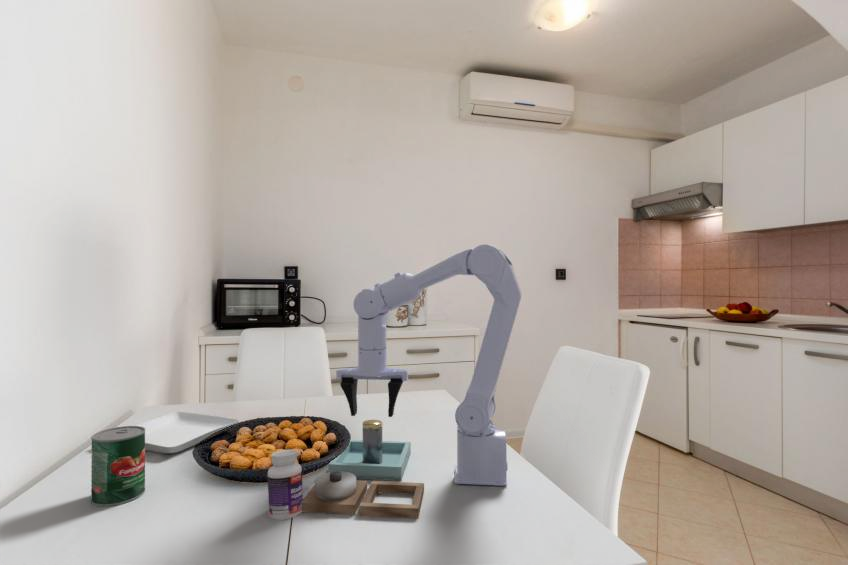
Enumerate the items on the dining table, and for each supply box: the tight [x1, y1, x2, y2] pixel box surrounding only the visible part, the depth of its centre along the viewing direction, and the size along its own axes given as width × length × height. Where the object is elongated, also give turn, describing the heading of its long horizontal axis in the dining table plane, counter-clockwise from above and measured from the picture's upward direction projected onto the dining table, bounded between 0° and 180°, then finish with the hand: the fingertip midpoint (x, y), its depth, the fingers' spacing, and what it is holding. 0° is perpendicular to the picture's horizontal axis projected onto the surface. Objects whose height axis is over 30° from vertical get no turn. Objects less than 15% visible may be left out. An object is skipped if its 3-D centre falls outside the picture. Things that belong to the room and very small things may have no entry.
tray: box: [328, 439, 412, 481], centre depth 95 cm, size 14×14×2 cm
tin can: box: [362, 419, 383, 464], centre depth 95 cm, size 4×4×8 cm
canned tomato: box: [90, 425, 146, 508], centre depth 81 cm, size 8×8×11 cm
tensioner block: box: [302, 471, 425, 519], centre depth 79 cm, size 19×9×4 cm, turn 85°
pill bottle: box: [267, 449, 304, 520], centre depth 76 cm, size 5×5×10 cm
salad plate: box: [133, 411, 240, 454], centre depth 111 cm, size 21×21×3 cm
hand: (372, 415), depth 95 cm, fingers open, 7 cm apart
